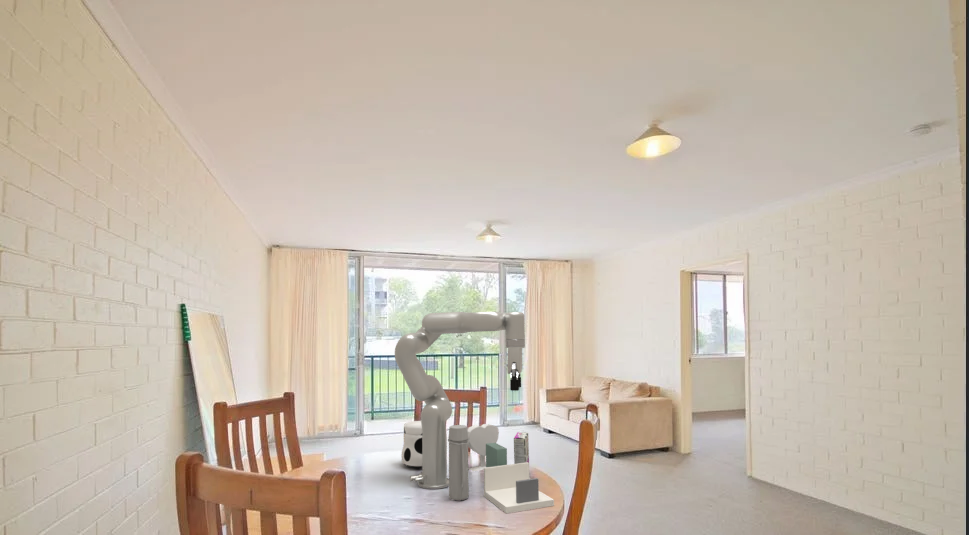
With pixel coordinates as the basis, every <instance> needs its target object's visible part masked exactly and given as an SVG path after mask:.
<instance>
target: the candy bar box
mask: <svg viewBox="0 0 969 535" xmlns="http://www.w3.org/2000/svg"><path fill="white" fill-rule="evenodd" d="M529 447H530V446H529V432H526V431H525V432H524V431H518V432H516V434H515V435H514V437H513V455H514V456H513V458H514V459H513V460H514V461H513V462H514V463H513V464H518V463H526V462H528V463H529V464H530V448H529Z"/></svg>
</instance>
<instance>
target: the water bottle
mask: <svg viewBox="0 0 969 535" xmlns="http://www.w3.org/2000/svg"><path fill="white" fill-rule="evenodd" d="M467 429H468V426H467V425H466V424H456V425H455V424H454V425H450V426H449V428H448V437H447V438H448V439H447V443H448V479H449V486H448V497H449V499H450V500H452V501H455V500H456V501H458V502H459V501H460V500H462V501H466V500H467V499H468V498H469V486H470V485H469V470H468V469H469V447H468V443H469V442H470V440H469V439H468V430H467ZM468 440H469V442H468Z"/></svg>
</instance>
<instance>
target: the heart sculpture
mask: <svg viewBox="0 0 969 535" xmlns="http://www.w3.org/2000/svg"><path fill="white" fill-rule="evenodd" d="M467 430H468V439H469V440H470V442H469V440H468V442H469V443H468V449H470V450H471V451H472V452H474V453H477V454H478V455H479V466H474V467H470V468H468V469H469V470H472V471H471V472H474V471H475V472H478V471H484V468H486V444H487V443H497V442H498V440H499V433H500V431H499V427H498V426H496V425H494V424H490V423H483V424H481V425H476V424H475V425H472V426H469V427H467ZM469 470H468V471H469Z"/></svg>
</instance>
